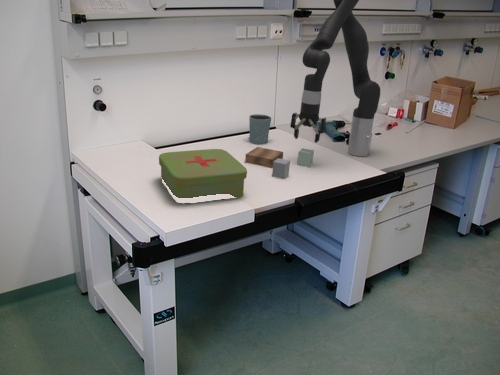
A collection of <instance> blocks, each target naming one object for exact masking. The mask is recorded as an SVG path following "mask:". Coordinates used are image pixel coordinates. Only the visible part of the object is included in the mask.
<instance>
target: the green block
mask: <svg viewBox="0 0 500 375" xmlns="http://www.w3.org/2000/svg"><path fill="white" fill-rule="evenodd" d="M314 152H315V150H314V149H309V148H308V149H307V148H300V150H299V151H298V155H297V166H300V167H305V166H306V167H307V168H310V167H311V166H312V165H313V163H314V162H313V161H314ZM311 164H312V165H311Z"/></svg>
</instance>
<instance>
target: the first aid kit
mask: <svg viewBox="0 0 500 375" xmlns="http://www.w3.org/2000/svg"><path fill="white" fill-rule="evenodd" d="M158 164H159V166H160V174H161V176H160V178H161V177H162V179H163V180H164V182H165V183H166V185H167V186H168V187H169V189H170V190H171V192H172V193H173V195H175V196H176V197H178V198H193V197H199V196H207V195H216V194H230V195H232V196H234V197H237V198H236V199H240V198H243V196H244V187H245V180H246V179H247V174H248V170H247V167H245V166H244V165H243V164H242V163H241V162H240V161H239V160H238V159H236V158H235V157H234V155H232V154H231V153H230V152H228V151H227V150H225V149H222V148H208V149H207V148H206V149H205V148H204V149H196V150H194V149H193V150H183V151H182V150H181V151H168V152H163V153H160V154H159V156H158Z"/></svg>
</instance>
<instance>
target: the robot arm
mask: <svg viewBox="0 0 500 375" xmlns="http://www.w3.org/2000/svg"><path fill="white" fill-rule="evenodd" d="M359 1H360V0H333V3H334V4H333V5H334V7H335V9H334V11H333V12H332V13H331V14H330V16H328V17H327V18H326V19H325V21H324V22H323V24H322V26H321V27H320V29H319V31H318V33H317V36H316V38H315V39H313V41H312V42H311V43H310V44H309V46H308V47H307V48H306V49H305V50H304V52H303V56H302V63H303V65H304V66H305V67H306V68H310V69H315V73H309V74H308V73H307V74H306V75H305V78H304V84H303V90H302V96H301V102H300V103H301V104H300V110H299V111H300V113H297V112H296V111H295V112H293V113H292V115H291V120H290V125H289V126H290V128H291V129H294V132H293V138H294V139H295V140H298V139H299V135H300V134H299V133H300V127H302V126H304V127H309V128H312V129H313V130H314V132H315V137H314V143H318V142H319V141H320V139H321V138H320V137H321V134H324V133H326V126H327V117H323V118H322V117H320V109H321V108H320V107H321V101H322V89H323V81H324V79H325V75H326V73H327V71H328V68H329V66H330V64H331V56H330V53H329V52H327V51H326V50H330V49H332V47H333V45H334V44H335V41H336V39H337V36H338V34H339V33H340V30H342V34H343V35H342V36H343V41H344V47H345V50H346V54H347V58H348V63H349V66H350V71H351V77H352V88H353V93H354V96H356V98H358V99H359V100H358V105H357V107H356V108H354V109H353V111H352V119H351V120H352V121H351V124H350V125H351V128H350V133H349V139H348V145H347V146H348V147H347V154H348V155H351V156H354V157H368V156H369V154H370V150H371V144H372V137H373V133H372V132H373V128H374V127H373V126H374V120H375V115H376V113H377V111H378V108H379V103H380V99H381V98H380V97H381V86H380V84H379V83H377V82H376V81H373V80H372V79H371V76H370V74H369V70H368V58H369V54H370V48H369V47H370V46H369V40H368V36H367V32H366V30H365V29H364V27H363V26H362V25H361V23H360V22H359V21H358V19H357V18H356V17H355V15H354V14H353V10H354V8H355V7H356V6H357V4H358V3H359ZM298 118H299V122H298V123H297V124H296V121H297V119H298ZM318 122H319V123H320V126H319V124H318Z"/></svg>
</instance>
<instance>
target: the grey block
mask: <svg viewBox="0 0 500 375" xmlns="http://www.w3.org/2000/svg"><path fill="white" fill-rule="evenodd" d="M290 166H291V161H290V160H289V159H285V158H283V159H279V158H278V159H276V160H275V161H274V162H273V168H272V172H271V173H272V174H271V175H272V177H274V178H279V179H283V180H285V179H286V178H287V177H288V176H289V175H290V174H289V173H290Z"/></svg>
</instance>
